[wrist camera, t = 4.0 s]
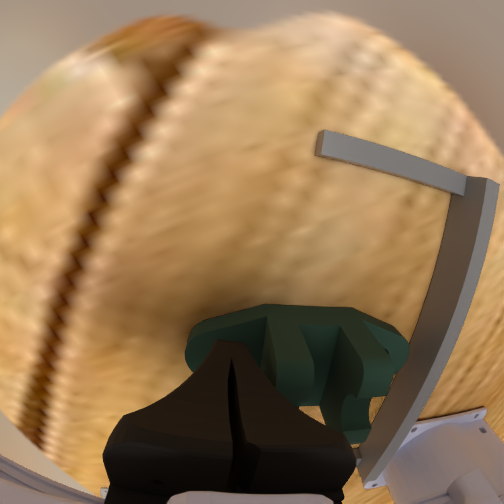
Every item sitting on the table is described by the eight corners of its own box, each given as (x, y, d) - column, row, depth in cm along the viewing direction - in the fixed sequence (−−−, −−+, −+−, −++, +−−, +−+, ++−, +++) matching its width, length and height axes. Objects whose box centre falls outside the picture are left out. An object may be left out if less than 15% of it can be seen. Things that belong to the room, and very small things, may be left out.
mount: (409, 308, 14) (464, 357, 9) (386, 378, 15) (424, 436, 10) (188, 298, 13) (167, 362, 9) (188, 377, 15) (174, 450, 10)
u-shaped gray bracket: (467, 180, 13) (499, 184, 10) (365, 455, 17) (375, 480, 15) (318, 132, 12) (336, 124, 10) (247, 458, 16) (248, 488, 14)
